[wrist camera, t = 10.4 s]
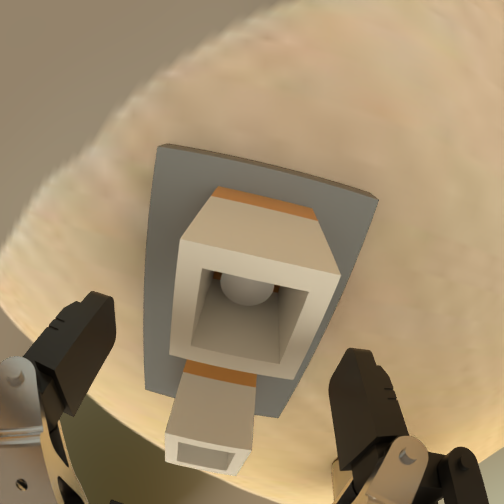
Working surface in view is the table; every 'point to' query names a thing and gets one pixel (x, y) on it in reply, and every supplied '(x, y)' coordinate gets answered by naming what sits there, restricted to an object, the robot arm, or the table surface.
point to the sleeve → (256, 268)
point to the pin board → (181, 209)
